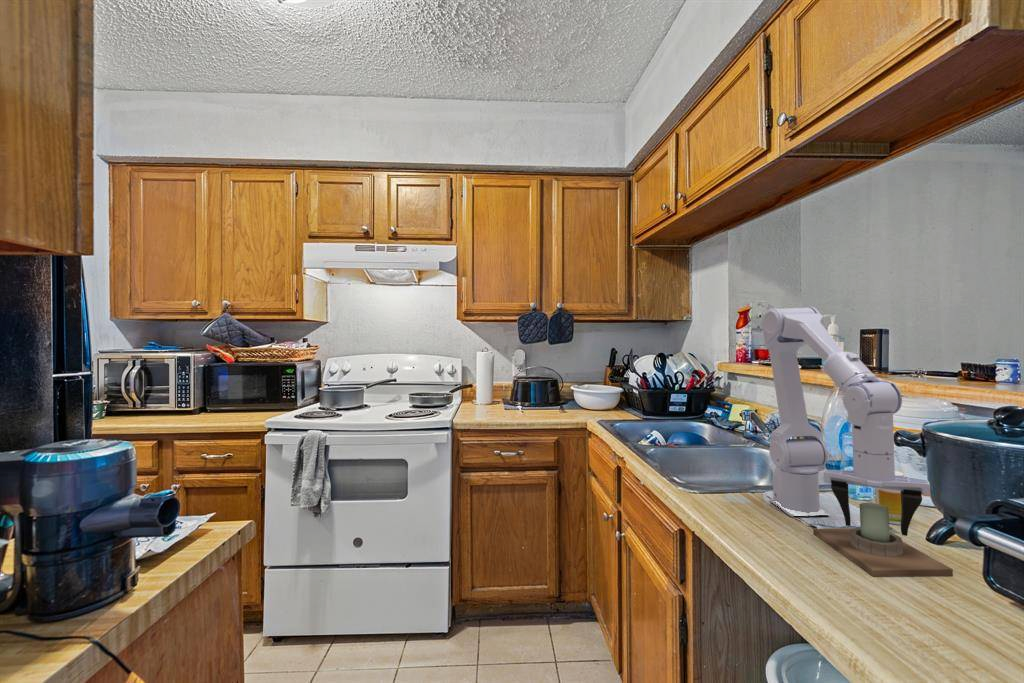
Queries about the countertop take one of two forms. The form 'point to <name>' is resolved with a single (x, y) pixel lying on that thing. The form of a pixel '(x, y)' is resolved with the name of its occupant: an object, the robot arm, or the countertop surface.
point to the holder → (882, 554)
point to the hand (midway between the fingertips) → (875, 528)
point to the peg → (874, 522)
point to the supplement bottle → (890, 501)
